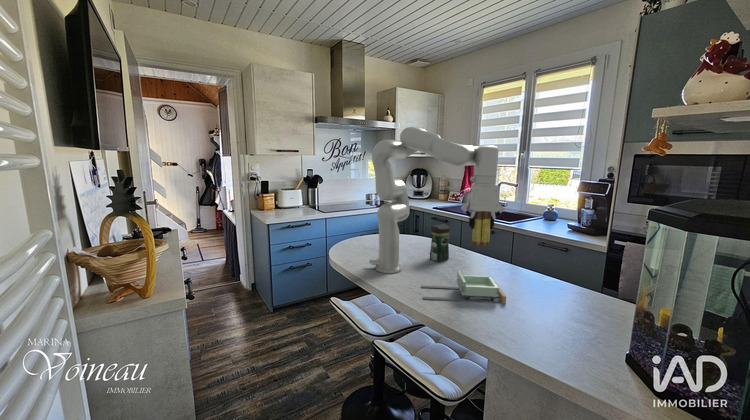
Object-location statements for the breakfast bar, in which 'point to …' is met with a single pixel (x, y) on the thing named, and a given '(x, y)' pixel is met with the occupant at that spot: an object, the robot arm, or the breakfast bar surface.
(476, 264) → the breakfast bar surface
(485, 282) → the cart
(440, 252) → the coffee jar
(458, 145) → the robot arm
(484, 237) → the sauce bottle
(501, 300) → the track
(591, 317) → the breakfast bar surface
